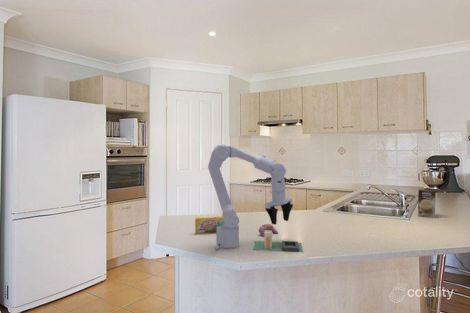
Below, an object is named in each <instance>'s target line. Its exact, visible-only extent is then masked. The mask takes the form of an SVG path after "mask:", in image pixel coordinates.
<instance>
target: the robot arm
mask: <svg viewBox="0 0 470 313" xmlns="http://www.w3.org/2000/svg"><path fill="white" fill-rule="evenodd" d="M228 158H230V159H231V158H232V159H233V158H239V159H240V160H243V161H246V162H249V163H251V164H252V165H253V166H254V168H255V169H257V170H259V171H262V172H265V173H267V174H270V176H271V178H270V179H271V181H270V183H271V197H272V198H271V200H272V201H269V202H267V203H265V211H266V213H267V214H268V216H269V219H270V224H271V225H277V222H278V220H277V218H278V216H277V214H278V210H279V208H276V207H281V210H282V218H283V220H284V221H285V222H289V219H290V215H291V211H292V209H293V206H294V205H293V199H292V198H286V185H285V184H286V183H285V182H286V181H285V175H286V173H287V172H286V171H287V169H286V168H285V166H284V164H282V163H278V162H277V161H276V160H274V159H273V160H271V159H269V158H267V156H266V155H264V154H263V155H258V156H255V155H253V154H251V153H248V152H246V151H244V150H242V149H240V148H238V147H234V146H230V145H226V144H222V143H220V144H218V145H216V146H215V147H214V149H213V150H212V151H211V155H210V158H209V160H208V161H209V162H208V166H207V168H208V173H209V175H210V178H211V181H212V184H213V187H214V190H215V192H216V196H217V198H218V199H217V200H218V202H219V205H220V208H221V210H222V218H223V220H224V223H223V225H222V226H221V227H217V232H216V233H215V236H216V237H215V238H216V240H215V242H216V246H215V247H216V248H215V250H217V251H218V250H219V251H220V248H225V249H236V248H239V247H240V225H239V223H240V219H239V216H238V215H237V213H236V211H235V210H234V207H233V205H232V202H231V199H230V196H229V192H228V190H227V187H226V183H225V181H224V178H223V175H222V171H221V167H222V165H223V164H224V162H225V161H226V160H227V159H228Z"/></svg>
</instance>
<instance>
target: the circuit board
mask: <svg viewBox="0 0 470 313" xmlns="http://www.w3.org/2000/svg"><path fill="white" fill-rule="evenodd" d="M298 245H299V252H298V253H304V250H303V245H302V242H298ZM285 247H295V246H290V245H285ZM252 250H253V251H263V252H264V251H266V252H267V251H269V252H283V251H282V241H272V249H266V248H264V240H263V241H261V240H260V241H257V240H255V241H254V244H253V249H252ZM284 252H285V253H286V252H287V253H288V251H284Z"/></svg>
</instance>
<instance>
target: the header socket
mask: <svg viewBox="0 0 470 313" xmlns="http://www.w3.org/2000/svg"><path fill="white" fill-rule="evenodd" d="M281 242H282V251H281V252H285V251H288V252H290V253H300V252H299V245H298V243H299V241H298V240H297V241H296V240H295V241H293V240H281ZM285 245H290V246H295V247H285ZM288 252H287V253H288Z"/></svg>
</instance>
